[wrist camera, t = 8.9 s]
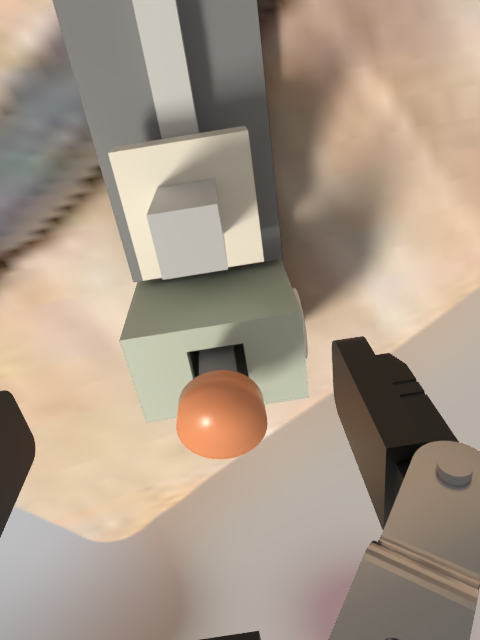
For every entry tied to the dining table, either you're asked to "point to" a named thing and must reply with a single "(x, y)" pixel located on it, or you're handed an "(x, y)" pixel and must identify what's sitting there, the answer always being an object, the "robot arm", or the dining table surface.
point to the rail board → (133, 94)
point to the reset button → (221, 408)
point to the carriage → (190, 202)
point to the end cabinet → (215, 333)
